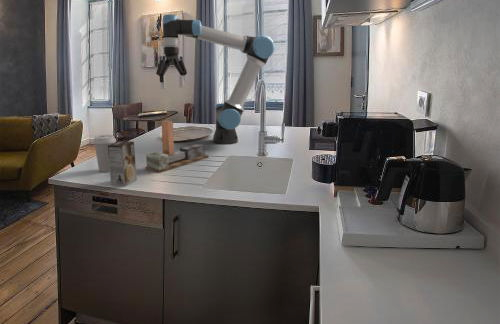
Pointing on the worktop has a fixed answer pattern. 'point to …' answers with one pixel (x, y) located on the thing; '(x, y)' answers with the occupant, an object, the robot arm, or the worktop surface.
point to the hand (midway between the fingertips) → (172, 88)
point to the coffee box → (122, 163)
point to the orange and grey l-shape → (170, 142)
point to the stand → (161, 161)
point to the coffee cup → (103, 151)
